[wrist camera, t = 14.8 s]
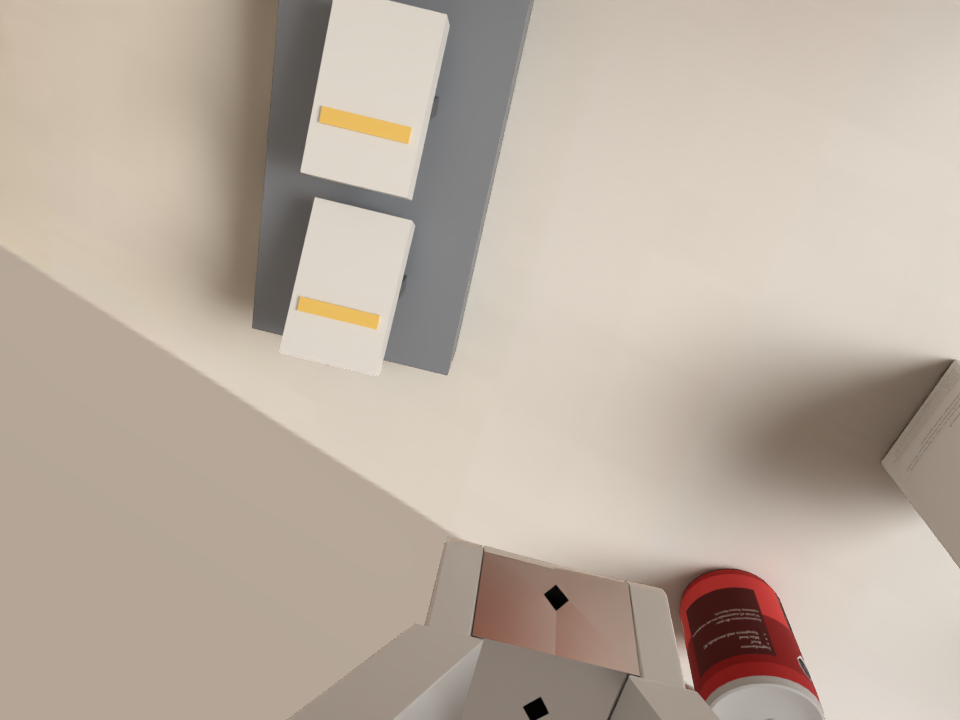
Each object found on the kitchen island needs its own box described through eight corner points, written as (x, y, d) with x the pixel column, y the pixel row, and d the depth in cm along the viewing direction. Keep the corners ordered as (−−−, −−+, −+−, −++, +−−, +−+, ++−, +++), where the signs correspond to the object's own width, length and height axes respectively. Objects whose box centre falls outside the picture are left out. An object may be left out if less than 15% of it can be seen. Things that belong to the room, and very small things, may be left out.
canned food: (745, 654, 58) (784, 782, 48) (658, 617, 57) (679, 739, 47) (800, 590, 55) (853, 713, 45) (709, 551, 54) (742, 667, 44)
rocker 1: (343, 0, 36) (334, -14, 34) (449, 26, 36) (446, 13, 34) (310, 175, 38) (299, 171, 36) (412, 200, 38) (406, 197, 36)
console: (325, -273, 36) (286, -325, 30) (580, -212, 36) (584, -253, 30) (271, 305, 49) (238, 336, 44) (455, 350, 49) (443, 386, 44)
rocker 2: (322, 203, 41) (314, 196, 39) (415, 225, 41) (411, 220, 39) (287, 352, 42) (277, 353, 40) (379, 374, 42) (374, 376, 40)
